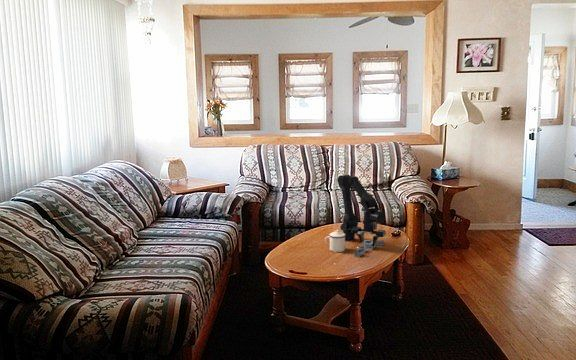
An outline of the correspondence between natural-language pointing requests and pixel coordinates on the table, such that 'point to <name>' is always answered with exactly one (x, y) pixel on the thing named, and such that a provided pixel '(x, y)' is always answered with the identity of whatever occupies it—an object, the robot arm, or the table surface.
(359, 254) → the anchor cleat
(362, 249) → the link
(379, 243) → the grey peg holder
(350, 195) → the robot arm
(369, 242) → the end link
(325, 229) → the table surface
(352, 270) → the table surface
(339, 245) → the teacup with lid
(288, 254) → the table surface
